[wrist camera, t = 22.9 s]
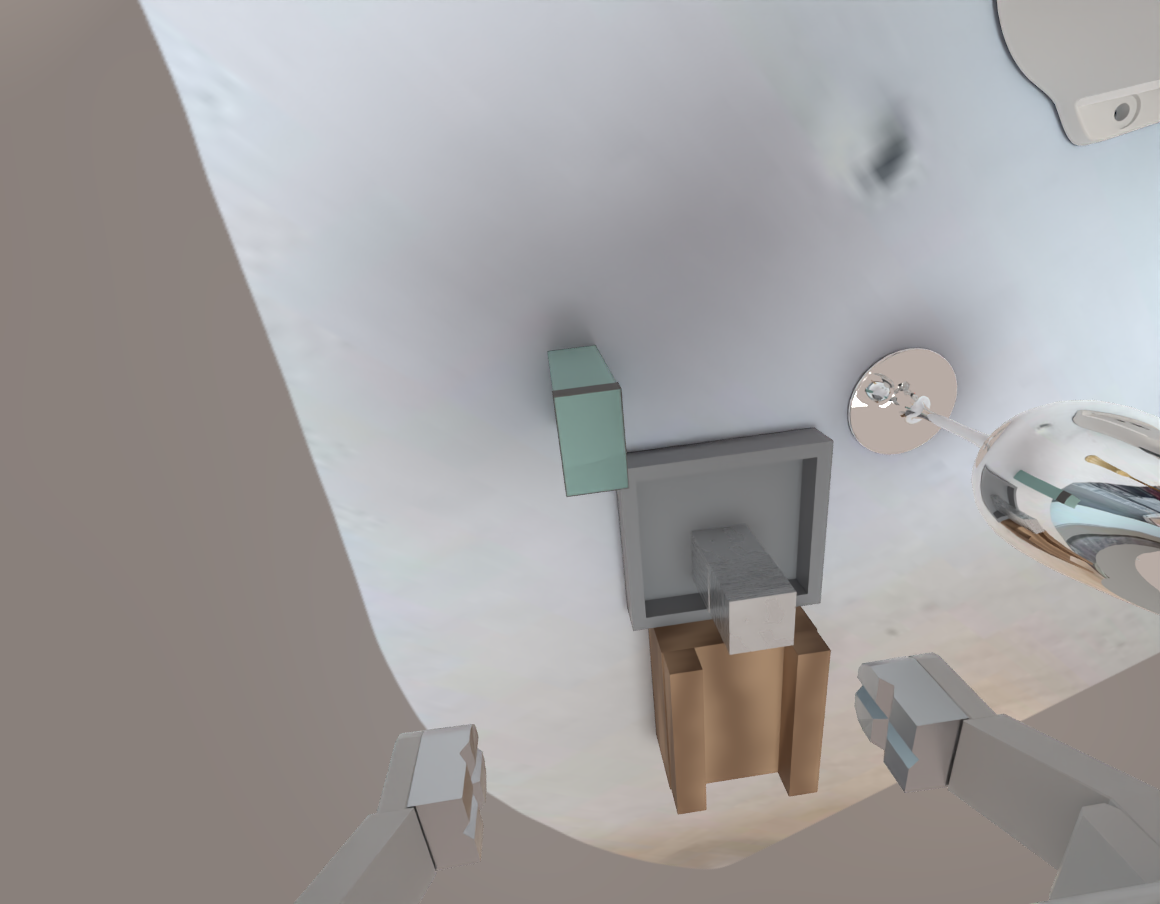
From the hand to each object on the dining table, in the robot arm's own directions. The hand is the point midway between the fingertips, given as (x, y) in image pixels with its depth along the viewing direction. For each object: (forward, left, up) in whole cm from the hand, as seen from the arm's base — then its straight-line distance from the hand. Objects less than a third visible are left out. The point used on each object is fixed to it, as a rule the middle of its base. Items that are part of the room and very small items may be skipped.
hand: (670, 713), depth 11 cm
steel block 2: (-9, +13, -20) cm, 26 cm away
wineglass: (-22, +4, -25) cm, 34 cm away
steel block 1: (-9, +15, -22) cm, 29 cm away
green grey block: (0, 0, -25) cm, 25 cm away
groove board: (-9, +25, -25) cm, 37 cm away
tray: (-9, +11, -25) cm, 29 cm away
